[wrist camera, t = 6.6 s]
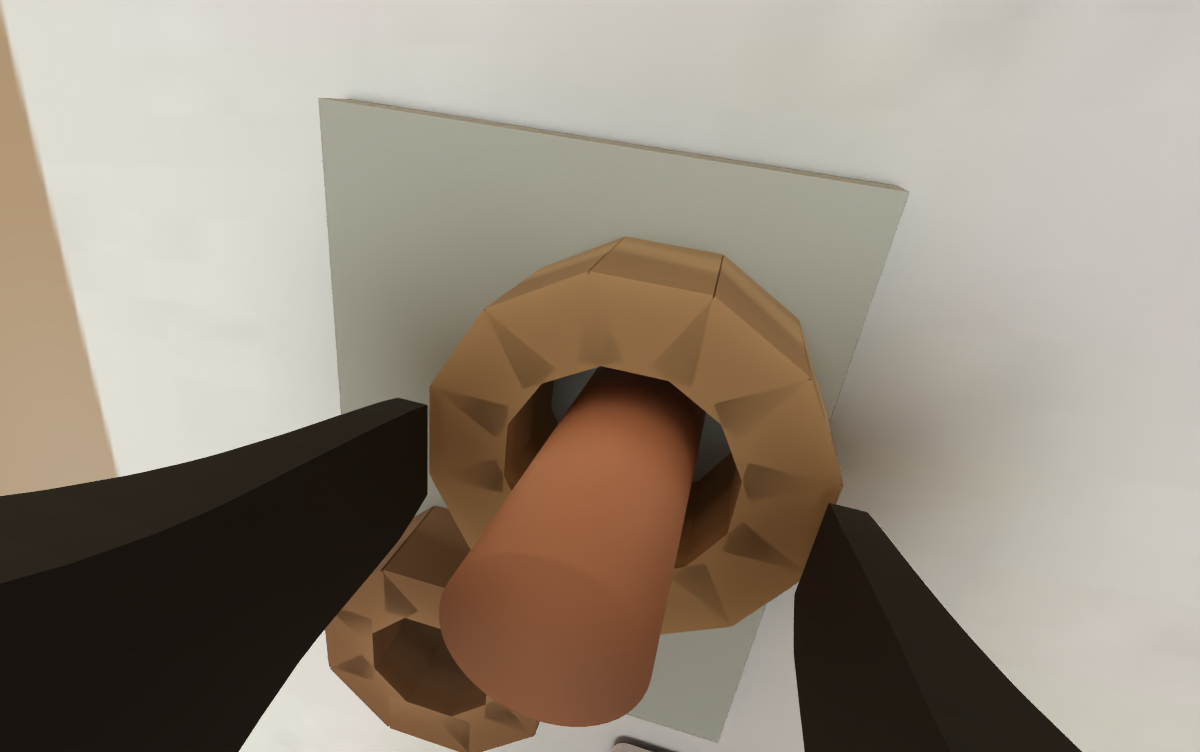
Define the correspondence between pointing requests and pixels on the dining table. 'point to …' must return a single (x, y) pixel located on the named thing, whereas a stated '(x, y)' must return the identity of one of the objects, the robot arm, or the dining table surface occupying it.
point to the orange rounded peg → (580, 558)
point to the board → (558, 231)
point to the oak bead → (664, 351)
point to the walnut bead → (417, 646)
